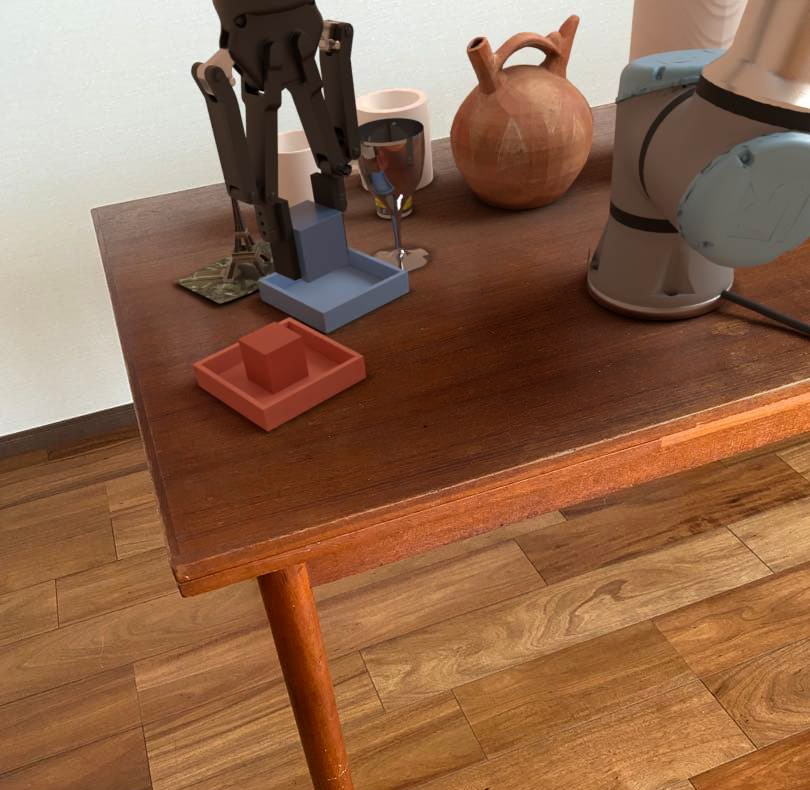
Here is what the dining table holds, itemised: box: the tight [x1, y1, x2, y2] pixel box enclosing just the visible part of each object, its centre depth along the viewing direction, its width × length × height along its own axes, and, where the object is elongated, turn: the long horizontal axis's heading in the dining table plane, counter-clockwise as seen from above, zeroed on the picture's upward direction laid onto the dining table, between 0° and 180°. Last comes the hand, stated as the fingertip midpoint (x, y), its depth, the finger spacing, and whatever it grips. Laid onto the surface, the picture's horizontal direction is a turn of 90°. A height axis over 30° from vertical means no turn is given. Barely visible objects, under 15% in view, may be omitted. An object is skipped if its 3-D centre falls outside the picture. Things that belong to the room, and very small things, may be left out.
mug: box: [348, 87, 434, 192], centre depth 122 cm, size 14×10×11 cm
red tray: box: [192, 317, 367, 433], centre depth 88 cm, size 12×12×2 cm
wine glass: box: [355, 118, 430, 272], centre depth 102 cm, size 8×8×15 cm
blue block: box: [289, 200, 349, 283], centre depth 74 cm, size 4×4×4 cm
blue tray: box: [258, 245, 410, 335], centre depth 101 cm, size 12×12×2 cm
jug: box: [449, 14, 595, 211], centre depth 113 cm, size 18×18×20 cm
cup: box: [278, 129, 321, 208], centre depth 116 cm, size 8×12×10 cm
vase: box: [628, 0, 748, 63], centre depth 112 cm, size 14×14×32 cm
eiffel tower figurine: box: [174, 197, 275, 304], centre depth 103 cm, size 15×10×13 cm
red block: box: [237, 321, 309, 394], centre depth 87 cm, size 4×4×4 cm
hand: (312, 262), depth 76 cm, fingers closed on blue block, 4 cm apart
